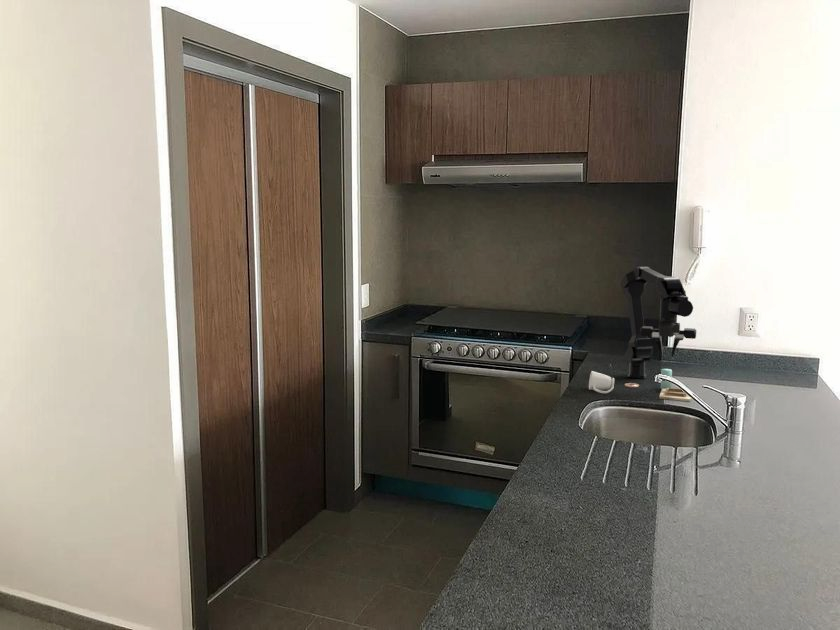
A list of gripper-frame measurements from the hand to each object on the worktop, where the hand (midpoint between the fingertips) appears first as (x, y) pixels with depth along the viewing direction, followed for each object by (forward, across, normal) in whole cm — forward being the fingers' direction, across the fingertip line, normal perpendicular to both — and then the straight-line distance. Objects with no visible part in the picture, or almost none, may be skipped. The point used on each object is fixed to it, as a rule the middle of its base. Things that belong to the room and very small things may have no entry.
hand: (667, 356), depth 251 cm
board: (+12, +4, -9) cm, 15 cm away
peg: (+12, 0, 0) cm, 12 cm away
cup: (+10, -17, -9) cm, 22 cm away
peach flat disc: (+12, -12, 0) cm, 17 cm away
